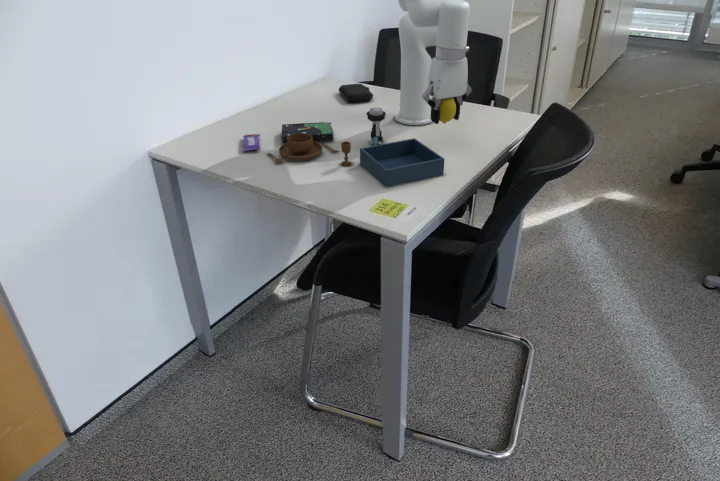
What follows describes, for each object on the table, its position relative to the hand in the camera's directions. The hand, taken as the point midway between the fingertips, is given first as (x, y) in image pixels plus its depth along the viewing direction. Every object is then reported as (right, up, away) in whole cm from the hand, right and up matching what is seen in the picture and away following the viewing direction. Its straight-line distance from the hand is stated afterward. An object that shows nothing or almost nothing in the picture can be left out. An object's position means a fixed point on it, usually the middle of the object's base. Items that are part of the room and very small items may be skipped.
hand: (444, 119), depth 149 cm
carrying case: (-24, +18, +44) cm, 53 cm away
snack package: (-54, -6, +6) cm, 55 cm away
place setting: (-37, -11, -2) cm, 39 cm away
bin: (-13, -15, -9) cm, 22 cm away
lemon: (0, -1, +1) cm, 1 cm away
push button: (-19, -6, +6) cm, 20 cm away
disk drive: (-39, -3, +11) cm, 40 cm away
